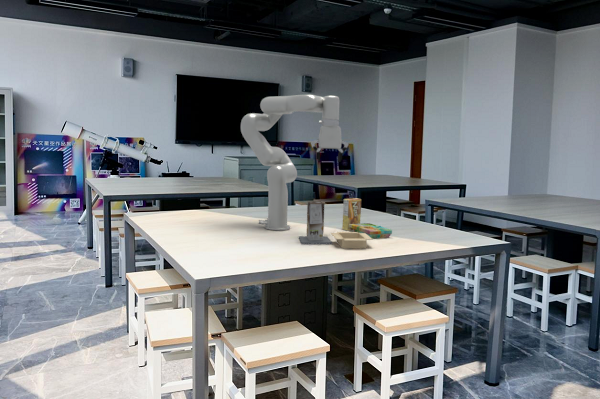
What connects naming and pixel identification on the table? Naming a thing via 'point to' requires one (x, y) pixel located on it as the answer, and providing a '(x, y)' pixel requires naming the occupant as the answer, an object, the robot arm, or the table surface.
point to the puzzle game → (371, 230)
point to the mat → (305, 241)
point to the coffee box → (315, 220)
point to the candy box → (351, 212)
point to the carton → (351, 239)
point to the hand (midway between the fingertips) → (329, 161)
